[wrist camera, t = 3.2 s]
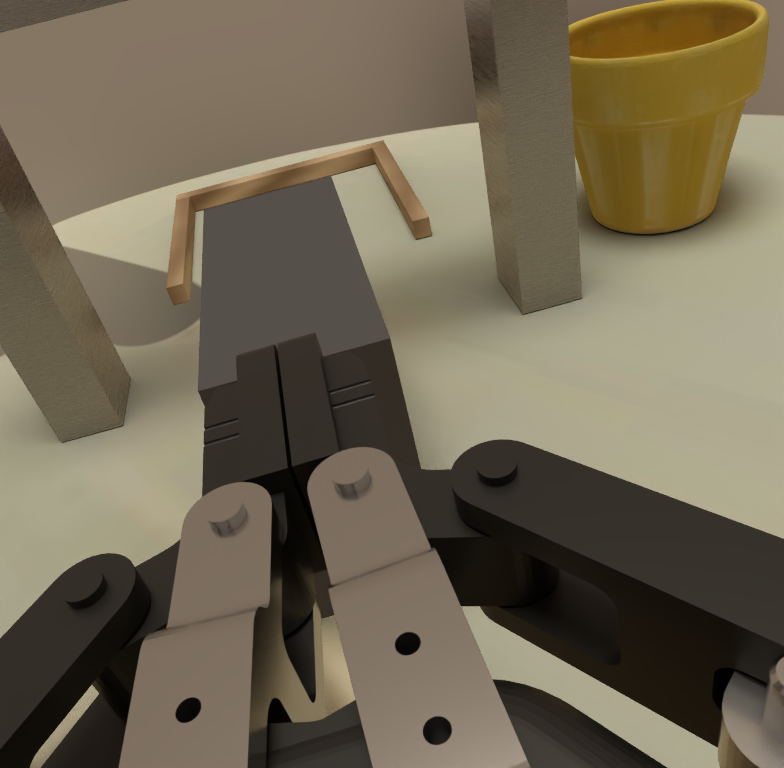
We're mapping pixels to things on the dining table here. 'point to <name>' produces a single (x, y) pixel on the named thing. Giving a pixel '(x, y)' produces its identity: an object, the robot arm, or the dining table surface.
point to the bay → (273, 181)
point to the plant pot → (662, 106)
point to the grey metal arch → (504, 186)
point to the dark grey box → (294, 300)
